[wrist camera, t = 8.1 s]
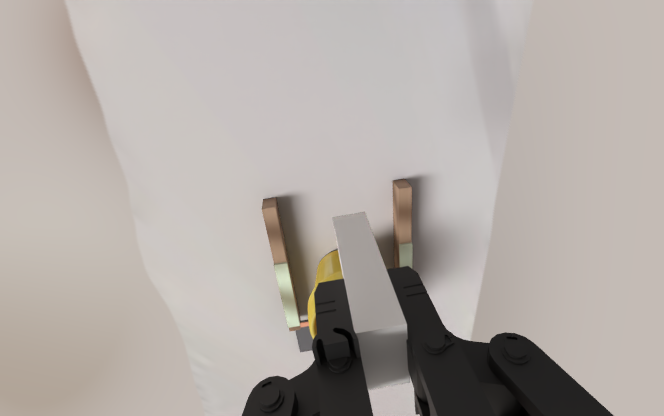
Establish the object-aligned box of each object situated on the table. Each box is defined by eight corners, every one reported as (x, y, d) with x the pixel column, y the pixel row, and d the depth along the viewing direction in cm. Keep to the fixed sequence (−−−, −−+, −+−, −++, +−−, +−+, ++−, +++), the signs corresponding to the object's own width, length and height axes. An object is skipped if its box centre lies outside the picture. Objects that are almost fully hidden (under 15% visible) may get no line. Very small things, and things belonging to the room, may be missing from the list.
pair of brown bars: (262, 199, 39) (261, 210, 37) (405, 178, 40) (413, 188, 38) (289, 317, 48) (289, 333, 45) (405, 298, 49) (411, 312, 46)
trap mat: (294, 322, 48) (294, 324, 48) (402, 304, 49) (402, 306, 49) (300, 350, 51) (300, 352, 51) (402, 333, 52) (403, 335, 52)
